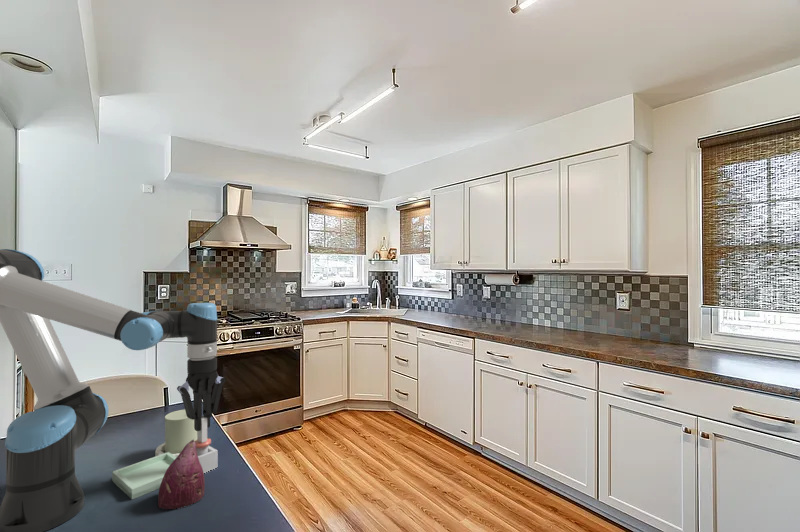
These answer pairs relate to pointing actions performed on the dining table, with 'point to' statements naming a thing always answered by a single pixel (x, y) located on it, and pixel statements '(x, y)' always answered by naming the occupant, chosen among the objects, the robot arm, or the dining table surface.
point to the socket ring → (162, 450)
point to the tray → (143, 475)
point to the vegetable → (182, 480)
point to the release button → (202, 446)
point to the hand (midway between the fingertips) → (202, 440)
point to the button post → (209, 459)
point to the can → (178, 431)
